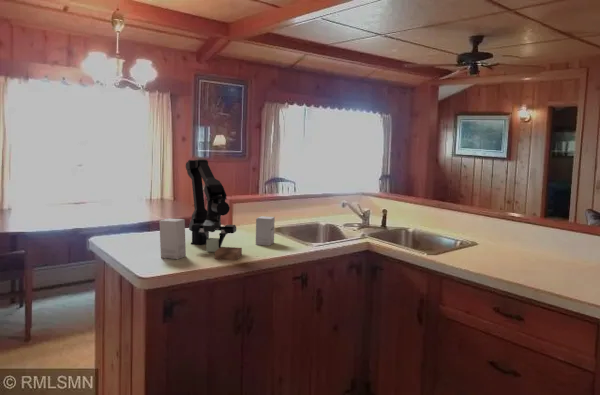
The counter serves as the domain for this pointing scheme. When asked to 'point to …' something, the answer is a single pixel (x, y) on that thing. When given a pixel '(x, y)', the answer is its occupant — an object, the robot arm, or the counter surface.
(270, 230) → the supplement box
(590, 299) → the counter surface
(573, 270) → the counter surface
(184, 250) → the skincare box
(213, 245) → the sage cube
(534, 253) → the counter surface
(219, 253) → the walnut block
